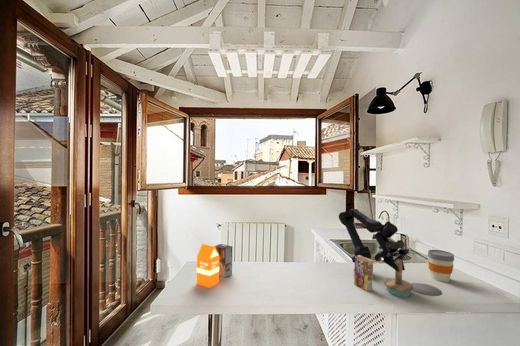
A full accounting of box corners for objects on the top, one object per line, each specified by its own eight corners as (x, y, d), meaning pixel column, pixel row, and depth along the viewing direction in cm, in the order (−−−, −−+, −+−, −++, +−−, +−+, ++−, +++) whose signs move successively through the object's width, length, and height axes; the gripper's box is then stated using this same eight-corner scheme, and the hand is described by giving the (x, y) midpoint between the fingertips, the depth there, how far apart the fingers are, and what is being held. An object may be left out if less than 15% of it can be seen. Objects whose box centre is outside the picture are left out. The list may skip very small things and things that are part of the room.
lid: (382, 286, 134) (382, 260, 134) (386, 278, 145) (387, 253, 144) (412, 293, 127) (412, 266, 126) (414, 284, 138) (415, 258, 137)
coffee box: (232, 274, 155) (233, 246, 154) (225, 277, 149) (225, 248, 149) (220, 270, 160) (221, 243, 159) (213, 274, 154) (213, 246, 154)
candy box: (372, 289, 138) (373, 260, 138) (366, 291, 136) (367, 261, 136) (359, 282, 146) (360, 254, 146) (353, 284, 144) (354, 255, 144)
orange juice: (206, 278, 148) (206, 242, 147) (219, 282, 143) (219, 244, 143) (196, 283, 141) (196, 245, 140) (209, 287, 136) (210, 248, 136)
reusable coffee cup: (440, 274, 161) (441, 249, 161) (459, 283, 148) (460, 256, 148) (421, 275, 159) (422, 249, 158) (439, 284, 146) (440, 256, 146)
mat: (416, 295, 132) (416, 294, 132) (403, 282, 147) (403, 282, 147) (448, 297, 131) (448, 296, 131) (432, 284, 146) (432, 283, 146)
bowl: (391, 296, 131) (391, 289, 131) (384, 287, 141) (384, 280, 141) (413, 297, 130) (413, 290, 130) (404, 288, 140) (404, 281, 140)
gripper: (379, 235, 135) (397, 265, 125) (406, 233, 142) (425, 261, 132) (367, 247, 143) (383, 275, 133) (393, 244, 150) (410, 271, 140)
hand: (401, 270), depth 134 cm, fingers open, 4 cm apart
